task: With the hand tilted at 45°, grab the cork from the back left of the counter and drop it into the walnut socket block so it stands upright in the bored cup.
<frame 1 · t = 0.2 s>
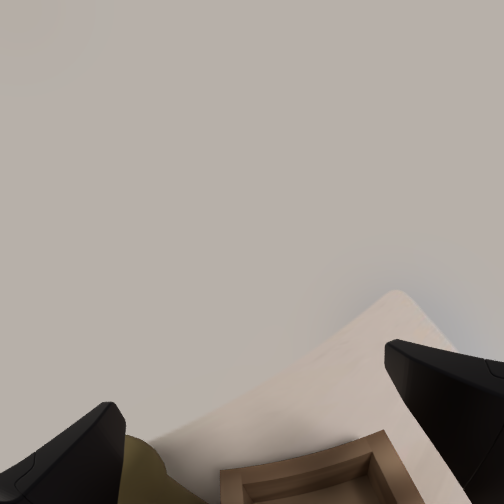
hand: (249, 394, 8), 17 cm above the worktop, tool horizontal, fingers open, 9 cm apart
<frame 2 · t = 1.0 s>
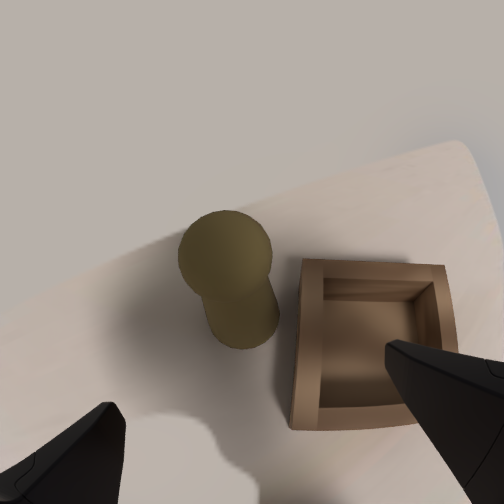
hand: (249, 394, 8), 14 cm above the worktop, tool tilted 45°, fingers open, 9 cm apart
cork: (243, 315, 24), on the worktop
socket block: (368, 354, 20), on the worktop
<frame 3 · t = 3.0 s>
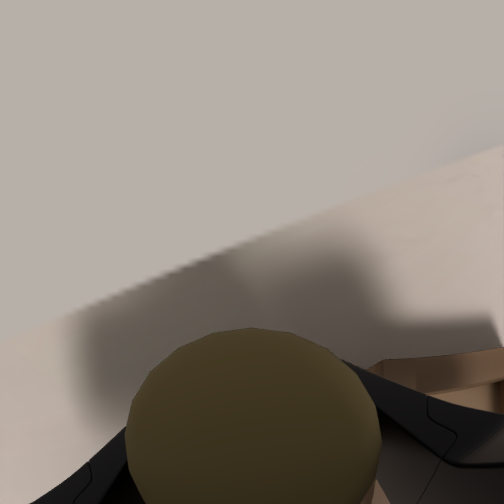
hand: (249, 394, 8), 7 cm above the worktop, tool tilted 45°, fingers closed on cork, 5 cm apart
cork: (267, 426, 13), on the worktop, touching gripper
socket block: (442, 463, 10), on the worktop
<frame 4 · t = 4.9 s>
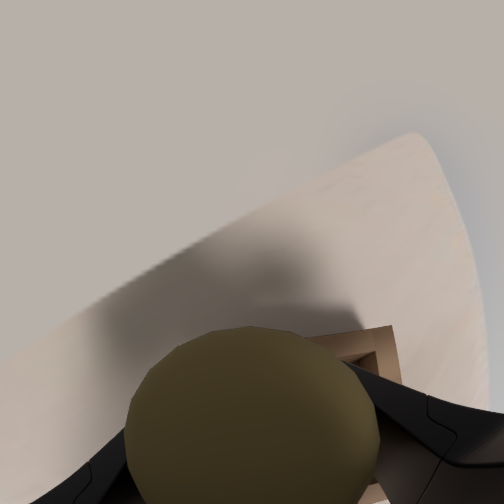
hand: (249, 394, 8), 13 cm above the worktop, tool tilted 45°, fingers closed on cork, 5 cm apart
cork: (265, 425, 13), point 6 cm above the worktop, touching gripper
socket block: (305, 426, 18), on the worktop
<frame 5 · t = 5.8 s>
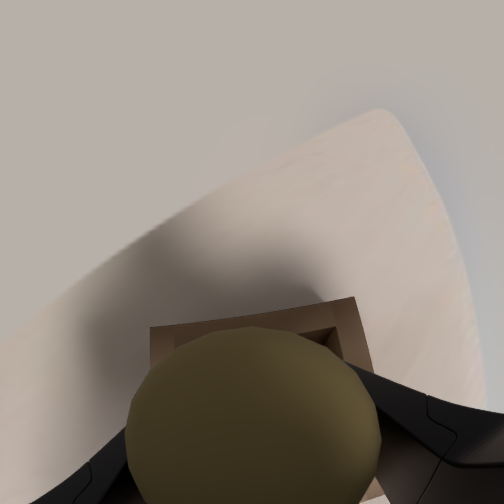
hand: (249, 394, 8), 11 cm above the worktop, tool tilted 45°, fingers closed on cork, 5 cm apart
cork: (265, 426, 13), point 4 cm above the worktop, touching gripper
socket block: (268, 418, 16), on the worktop
when the fingers open (8 cm above the worktop, at t = 6.7 s): cork drops 1 cm, resting on socket block.
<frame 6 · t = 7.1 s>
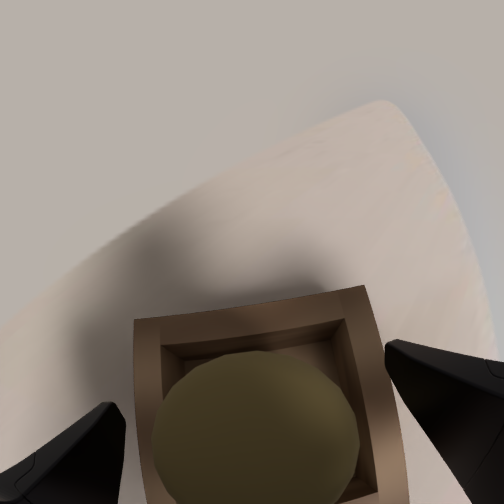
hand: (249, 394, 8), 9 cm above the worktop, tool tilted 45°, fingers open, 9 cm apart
cork: (267, 426, 14), resting on socket block
socket block: (268, 424, 14), on the worktop
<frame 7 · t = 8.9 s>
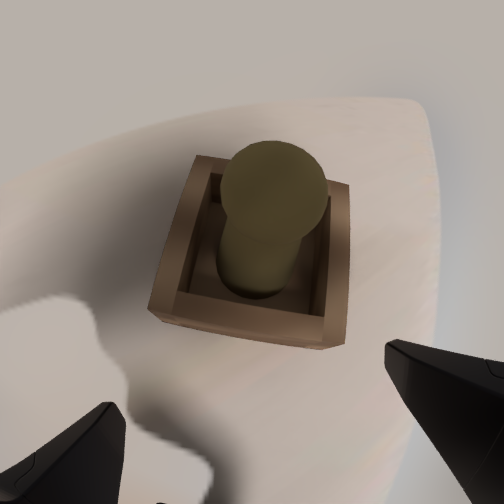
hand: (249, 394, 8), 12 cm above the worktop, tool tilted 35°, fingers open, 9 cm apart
cork: (254, 262, 22), resting on socket block
socket block: (255, 262, 22), on the worktop
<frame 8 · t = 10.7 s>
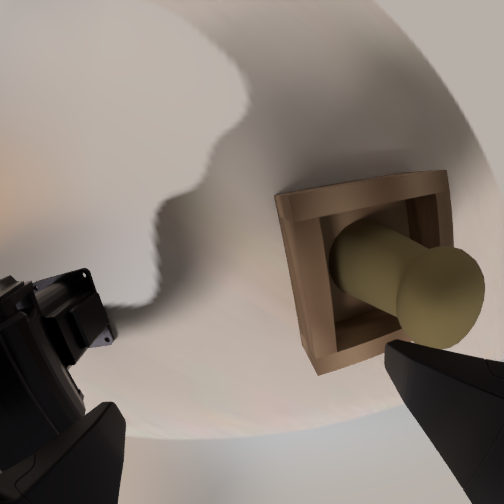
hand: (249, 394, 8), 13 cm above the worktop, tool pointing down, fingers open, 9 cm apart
cork: (363, 258, 21), resting on socket block
socket block: (362, 257, 21), on the worktop
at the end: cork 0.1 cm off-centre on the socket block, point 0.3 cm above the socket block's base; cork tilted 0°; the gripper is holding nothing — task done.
